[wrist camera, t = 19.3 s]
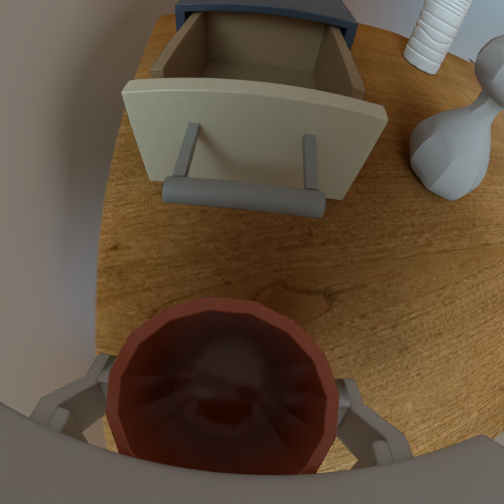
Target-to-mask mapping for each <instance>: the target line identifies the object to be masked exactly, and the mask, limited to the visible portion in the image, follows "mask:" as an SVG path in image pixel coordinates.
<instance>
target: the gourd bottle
mask: <svg viewBox="0 0 504 504" xmlns="http://www.w3.org/2000/svg"><path fill="white" fill-rule="evenodd" d="M475 74H476V77H477V79H478V81H479V83H480V85H481V87H482V92H481V93H480V94H479V96H478V98H477V99H476V100H475V101H474V102H473V103H472V104H471V105H469V106H467V107H462V108H457V109H452V110H448V111H444V112H441V113H438V114H435V115H433V116H431V117H429V118H426V119H425V120H423V121H422V122H420V123H419V124H418V125H417V126H416V127H415V129H414V130H413V132H412V134H411V136H410V143H409V147H410V165H411V168H412V170H413V171H414V172H415V174H416V175H417V176H418V178H419V179H420V180H421V182H422V183H423V184H424V186H425V187H426V189H427V190H429V191H431V192H433V193H435V194H437V195H439V196H441V197H443V198H445V199H447V200H451V201H453V200H456V199H459V198H461V197H462V196H464V195H466V194H467V193H469V192H470V191H472V190H473V189H475V188H476V187H477V186H478V185H479V184H480V183H481V181H482V180H483V178H484V176H485V173H486V170H487V167H488V163H489V156H490V142H491V123H492V122H493V120H494V118H495V117H496V115H497V114H498V113H499V112H500V111H501V110H504V35H502V36H498V37H495V38H493V39H492V40H490V41H489V42H488V43H487V44H486V45H485V46H484V47H483V48H482V49H481V50H480V52H479V53H478V56H477V59H476V62H475Z"/></svg>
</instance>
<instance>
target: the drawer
mask: <svg viewBox="0 0 504 504" xmlns="http://www.w3.org/2000/svg"><path fill="white" fill-rule="evenodd" d="M150 71H151V76H152V79H139V80H130V81H129V82H128V83H127V85H126V86H125V88H124V89H123V91H122V96H123V100H124V103H125V107H126V110H127V113H128V116H129V120H130V123H131V126H132V129H133V132H134V135H135V138H136V141H137V144H138V147H139V150H140V153H141V156H142V159H143V162H144V165H145V168H146V171H147V174H148V176H149V179H150V181H164V183H163V187H162V198H163V201H164V202H165V203H174V204H187V205H199V206H210V207H221V208H232V209H242V210H252V211H261V212H270V213H279V214H288V215H296V216H304V217H312V218H322V217H323V214H324V212H325V207H326V198H331V199H337V200H343V198H344V196H345V195H346V193H347V191H348V190H349V188H350V186H351V185H352V183H353V181H354V180H355V178H356V176H357V175H358V173H359V171H360V170H361V168H362V166H363V164H364V163H365V161H366V159H367V157H368V156H369V154H370V152H371V151H372V149H373V147H374V145H375V143H376V142H377V140H378V138H379V136H380V135H381V133H382V131H383V129H384V127H385V126H386V124H387V122H388V116H387V114H386V111H385V108H384V107H383V106H381V105H378V104H374V103H371V102H367V101H363V97H364V95H365V93H366V90H365V87H364V85H363V82H362V80H361V77H360V74H359V72H358V69H357V67H356V65H355V62H354V60H353V57H352V55H351V53H350V51H349V48H348V46H347V44H346V42H345V39H344V37H343V35H342V33H341V31H340V29H339V27H338V26H334V25H330V24H325V23H321V22H316V21H311V20H305V19H300V18H293V17H287V16H279V15H271V14H262V13H250V12H232V11H194V12H193V13H192V15H191V16H190V17H189V18H188V19H187V20H186V22H185V23H184V24H183V25H182V27H181V28H180V29H179V30H178V32H177V33H176V34H175V36H174V37H173V38H172V40H171V41H170V42H169V44H168V45H167V46H166V48H165V49H164V50H163V52H162V53H161V55H160V56H159V57H158V59H157V60H156V62H155V63H154V65H153V66H152V68H151V69H150Z"/></svg>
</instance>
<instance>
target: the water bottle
mask: <svg viewBox="0 0 504 504" xmlns="http://www.w3.org/2000/svg"><path fill="white" fill-rule="evenodd" d="M471 3H472V0H426V1H425V3H424V6H423V9H422V11H421V13H420V18H418V20H417V23H416V27H415V28H414V29H413V32H412V35H411V37H410V39H409V42H408V44H407V45H406V48H405V50H404V52H403V56H404V57H405V59H407V61H408V62H409V63H411V64H412V65H415V66H416V67H417V68H418V69H420V70H422V71H425V72H426V73H428V74H436V73H437V71H438V69H439V68H440V66H441V63H442V62H443V60H444V58H445V56H446V55H445V54H447V52H448V50H449V49H450V46H451V43H453V41H454V38H455V36H456V35H457V33H458V29H459V28H460V27H461V25H462V22H463V20H464V18H465V14H467V11H468V9H469V7H470V4H471Z"/></svg>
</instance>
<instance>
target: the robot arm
mask: <svg viewBox="0 0 504 504" xmlns="http://www.w3.org/2000/svg"><path fill="white" fill-rule="evenodd" d="M116 358H117V356H113V355H109V354H105V353H100V354H99V355H98V356H97V358H96V359H95V361H94V363H93V364H92V366H91V368H90V370H89V371H88V373H87V375H86V377H85V378H83V377H81V378H79V379H77V380H75V381H73V382H72V383H69V384H68V385H66V386H64V387H62V388H60V389H58V390H56V391H54V392H52V393H50V394H48V395H46V396H44V397H42V398H41V399H40V401H39V402H38V404H37V406H36V407H35V409H34V411H33V413H32V414H31V416H30V417H29V418H28V417H27V416H25V415H23V414H21V413H19V412H17V411H15V410H13V409H12V408H10V407H8V406H6V405H5V404H3V403H1V402H0V504H504V447H503V446H502V445H500V444H499V443H498V442H496V441H494V440H493V439H491V438H490V437H488V436H486V435H477V436H474V437H472V438H469V439H467V440H464V441H462V442H459V443H456V444H454V445H451V446H448V447H445V448H442V449H439V450H436V451H433V452H429V453H426V454H423V455H419V456H416V457H413V455H412V453H411V450H410V447H409V445H408V442H407V440H406V437H405V435H404V434H403V433H401V432H400V431H399V430H397V429H396V428H395V427H393V426H392V425H391V424H390V423H388V422H387V421H386V420H384V419H383V418H382V417H381V416H379V415H378V414H377V413H375V412H374V411H373V410H372V409H370V408H369V407H368V406H364V404H363V401H362V398H361V395H360V392H359V390H358V387H357V384H356V381H355V379H353V378H346V379H334V380H335V383H336V386H337V389H338V392H339V397H340V398H339V411H338V422H337V432H336V436H337V437H338V438H339V439H340V441H341V442H342V443H343V444H344V445H345V446H346V447H347V448H348V449H349V451H350V452H351V453H352V454H353V455H354V456H355V457H356V458H357V459H358V461H357V462H356V463H355V465H354V466H353V467H352V468H351V469H350V470H346V471H338V472H328V473H317V474H301V475H247V474H231V473H220V472H210V471H202V470H195V469H188V468H182V467H176V466H170V465H165V464H160V463H155V462H151V461H147V460H142V459H138V458H134V457H131V456H127V455H123V454H120V453H116V452H113V451H110V450H107V449H103V448H100V447H97V446H94V445H92V444H89V443H88V442H87V440H86V438H85V437H84V435H83V433H82V432H83V431H84V430H85V429H87V428H88V427H89V426H91V425H92V424H93V423H95V422H96V421H97V420H98V419H100V418H101V417H102V416H104V415H105V414H106V400H107V388H108V377H109V372H110V369H111V367H112V365H113V363H114V361H115V360H116Z"/></svg>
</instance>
